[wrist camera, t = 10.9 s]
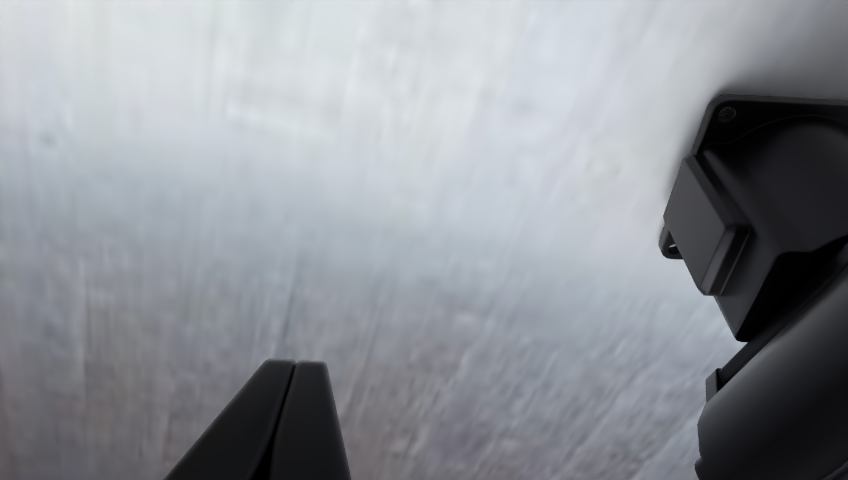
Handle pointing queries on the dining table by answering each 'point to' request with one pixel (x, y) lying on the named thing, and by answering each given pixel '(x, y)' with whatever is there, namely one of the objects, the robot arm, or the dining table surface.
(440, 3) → the dining table surface
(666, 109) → the dining table surface
